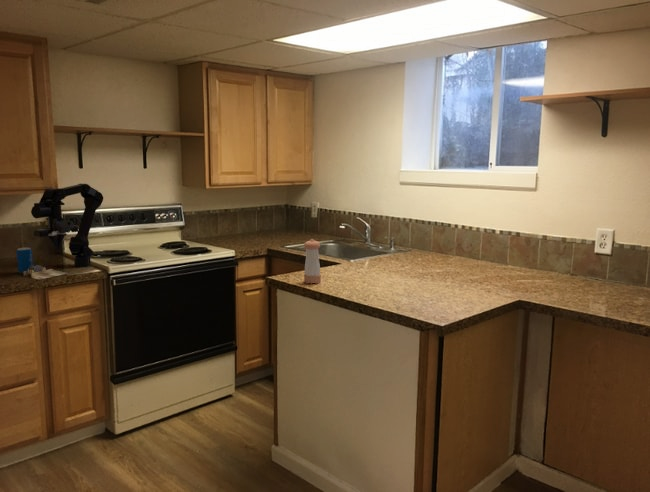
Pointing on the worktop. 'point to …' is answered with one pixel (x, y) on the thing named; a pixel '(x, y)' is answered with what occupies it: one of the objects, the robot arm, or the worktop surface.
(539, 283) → the worktop surface
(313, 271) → the pepper shaker
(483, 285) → the worktop surface
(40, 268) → the block
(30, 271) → the brass knob strip
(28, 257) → the beverage can
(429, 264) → the worktop surface
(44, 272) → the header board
